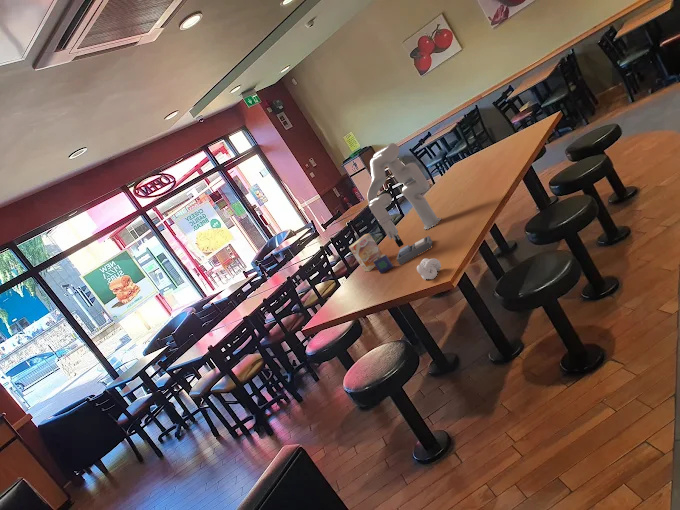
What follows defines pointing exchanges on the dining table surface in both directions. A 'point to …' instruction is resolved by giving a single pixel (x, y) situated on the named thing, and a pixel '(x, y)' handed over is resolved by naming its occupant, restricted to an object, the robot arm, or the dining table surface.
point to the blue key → (405, 250)
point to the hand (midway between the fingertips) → (401, 245)
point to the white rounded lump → (429, 268)
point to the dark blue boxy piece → (383, 263)
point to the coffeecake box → (366, 251)
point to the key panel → (414, 251)
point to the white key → (420, 243)
